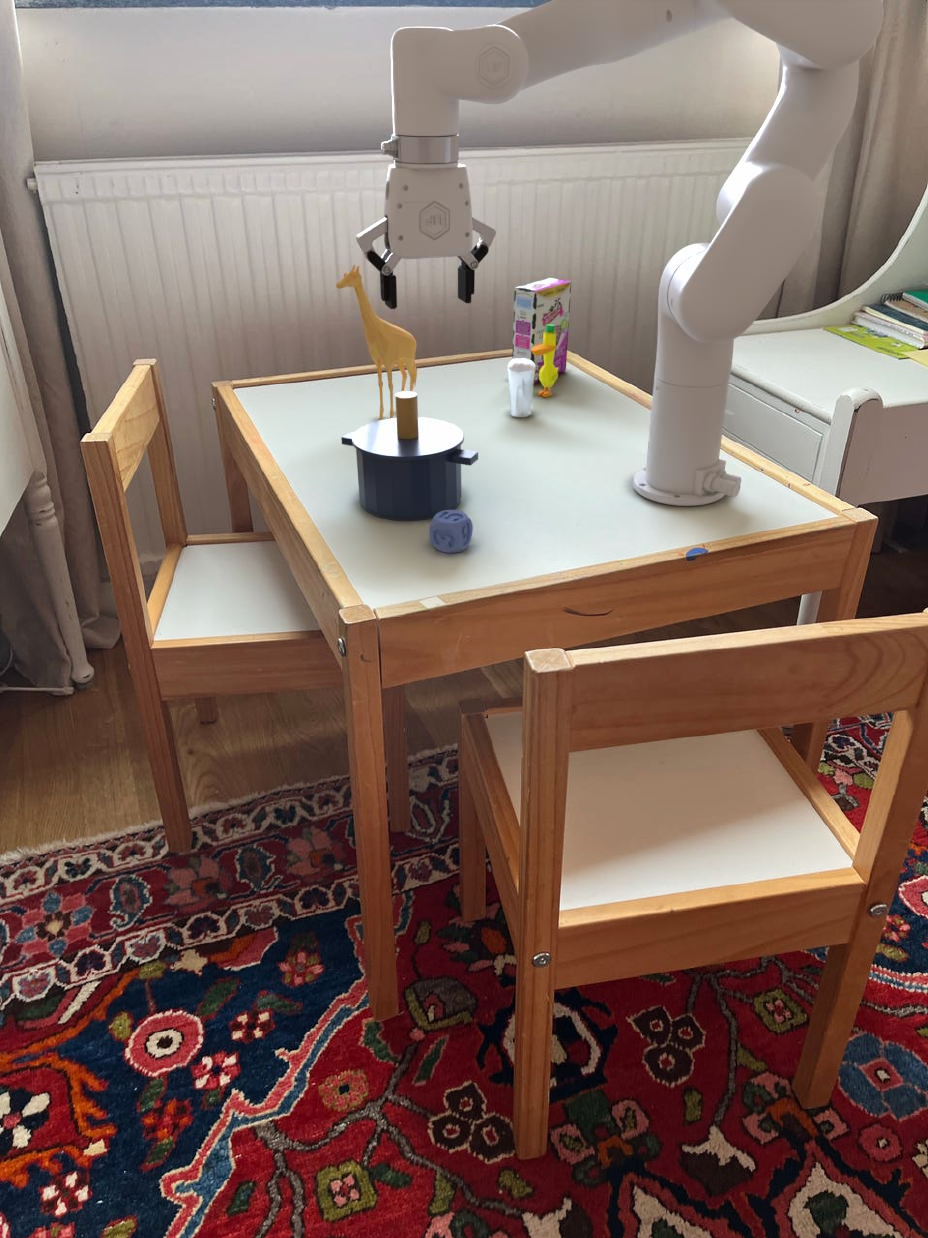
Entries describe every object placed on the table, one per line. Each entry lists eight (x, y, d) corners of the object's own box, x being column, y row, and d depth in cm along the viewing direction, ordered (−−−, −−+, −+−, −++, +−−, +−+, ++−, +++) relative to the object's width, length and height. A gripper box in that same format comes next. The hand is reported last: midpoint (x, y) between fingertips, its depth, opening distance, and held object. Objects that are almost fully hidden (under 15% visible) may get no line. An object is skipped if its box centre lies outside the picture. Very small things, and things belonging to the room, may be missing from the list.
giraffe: (359, 438, 151) (347, 271, 138) (339, 432, 153) (325, 267, 140) (427, 410, 161) (423, 253, 149) (408, 405, 164) (401, 250, 151)
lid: (433, 471, 118) (431, 419, 115) (330, 454, 123) (326, 404, 120) (481, 433, 129) (482, 385, 126) (386, 418, 135) (383, 372, 131)
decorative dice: (444, 536, 121) (443, 507, 119) (473, 542, 119) (472, 512, 117) (429, 549, 118) (428, 519, 115) (458, 555, 116) (458, 525, 114)
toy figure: (538, 401, 165) (540, 330, 159) (523, 397, 167) (525, 326, 161) (565, 393, 169) (568, 323, 163) (550, 388, 171) (552, 319, 165)
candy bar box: (533, 385, 173) (535, 291, 164) (510, 380, 175) (512, 287, 167) (568, 371, 180) (572, 279, 172) (546, 366, 183) (549, 276, 174)
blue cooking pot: (452, 531, 122) (451, 468, 117) (323, 506, 129) (318, 446, 124) (495, 492, 132) (495, 432, 128) (374, 470, 139) (370, 413, 135)
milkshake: (537, 419, 157) (539, 358, 152) (504, 418, 158) (505, 357, 153) (540, 410, 161) (542, 350, 156) (509, 409, 162) (509, 349, 157)
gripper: (361, 157, 106) (368, 316, 115) (507, 153, 111) (503, 305, 120) (345, 150, 112) (353, 302, 121) (484, 146, 117) (482, 292, 126)
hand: (428, 303), depth 120 cm, fingers open, 9 cm apart
